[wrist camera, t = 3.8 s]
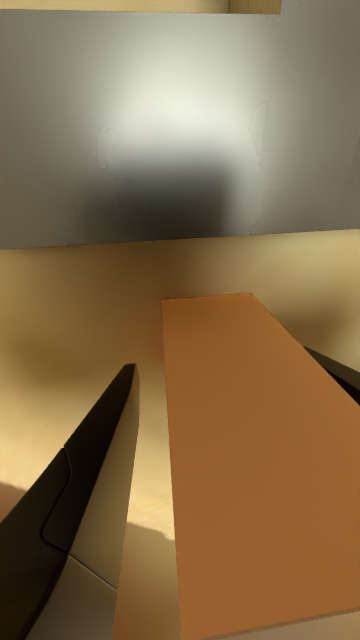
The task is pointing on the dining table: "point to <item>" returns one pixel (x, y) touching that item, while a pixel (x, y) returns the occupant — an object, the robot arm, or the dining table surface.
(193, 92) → the socket plate
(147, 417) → the dining table surface
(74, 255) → the dining table surface
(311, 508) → the peg
